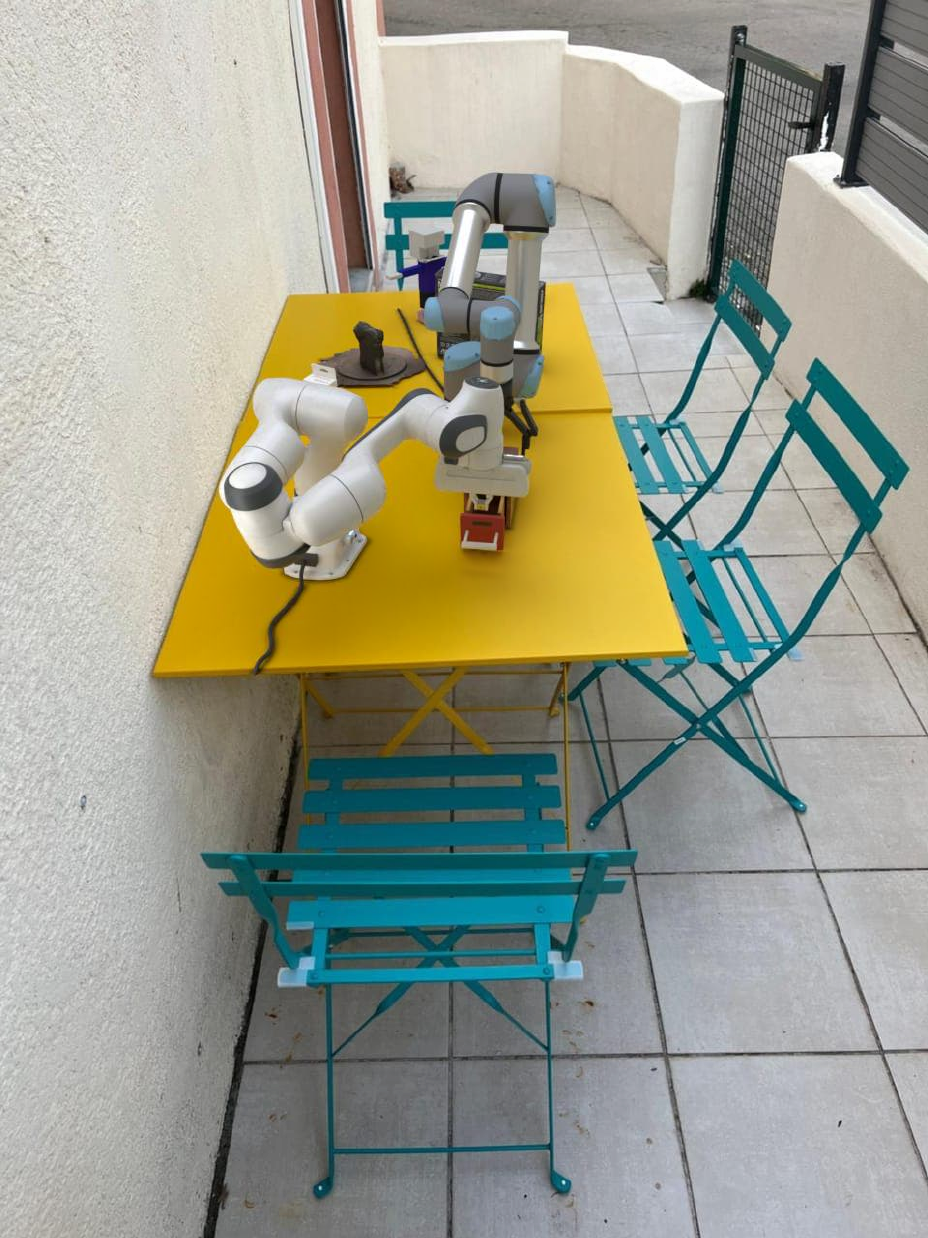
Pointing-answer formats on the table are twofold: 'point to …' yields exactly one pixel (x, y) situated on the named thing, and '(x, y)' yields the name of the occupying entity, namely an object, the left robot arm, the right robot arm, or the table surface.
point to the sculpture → (372, 360)
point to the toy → (424, 262)
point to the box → (487, 290)
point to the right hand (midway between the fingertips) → (495, 458)
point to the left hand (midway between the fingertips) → (481, 508)
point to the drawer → (484, 524)
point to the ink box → (322, 376)
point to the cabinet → (509, 499)
